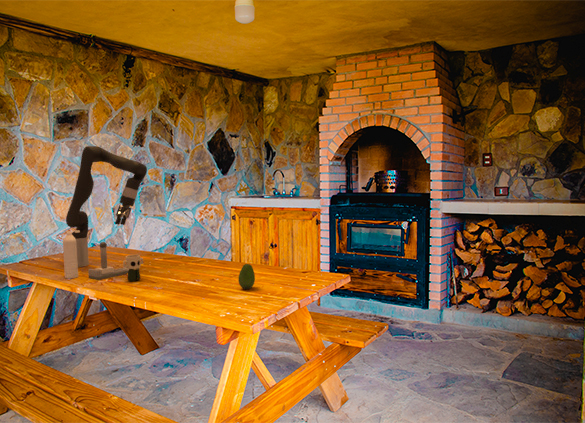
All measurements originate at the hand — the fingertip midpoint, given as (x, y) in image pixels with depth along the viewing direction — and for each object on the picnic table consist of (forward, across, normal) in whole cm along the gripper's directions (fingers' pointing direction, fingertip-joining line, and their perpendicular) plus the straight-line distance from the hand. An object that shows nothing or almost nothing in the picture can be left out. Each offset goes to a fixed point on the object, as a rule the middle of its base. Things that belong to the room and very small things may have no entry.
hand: (119, 224), depth 236 cm
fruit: (+10, +37, +78) cm, 87 cm away
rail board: (+27, -2, +6) cm, 28 cm away
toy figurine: (+25, +13, +20) cm, 35 cm away
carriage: (+27, +3, +1) cm, 27 cm away
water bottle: (+34, +2, -14) cm, 37 cm away
